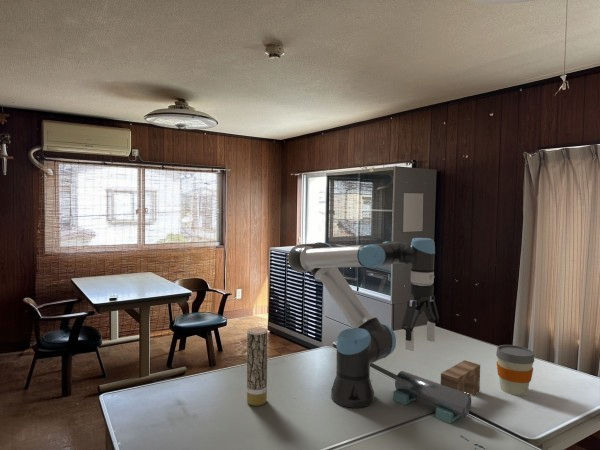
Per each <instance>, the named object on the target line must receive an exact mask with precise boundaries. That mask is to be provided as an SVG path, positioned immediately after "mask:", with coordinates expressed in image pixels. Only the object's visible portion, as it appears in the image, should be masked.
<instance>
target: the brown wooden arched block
mask: <svg viewBox="0 0 600 450" xmlns="http://www.w3.org/2000/svg"><path fill="white" fill-rule="evenodd" d="M480 378H481V364H478V363H476V362H471V361H468V360H462V361H460V362H458V363H457V364H454V365H453V366H451V367H449V368H447V369H446V370H444V371H442V372H441V373H440V384H441V385H444V386H447V387H450V388H453V389H456V390H459V391H462V392H466V393H469V394H472V395H471V396H473V395H474V396H476V395H477V394H478V393H479V391H480V388H481V387H480V386H481V385H480V384H481V379H480ZM477 392H478V393H477ZM476 393H477V394H476Z"/></svg>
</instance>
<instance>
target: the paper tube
mask: <svg viewBox="0 0 600 450" xmlns="http://www.w3.org/2000/svg"><path fill="white" fill-rule="evenodd" d="M246 333H247V334H246V335H247V336H246V338H247V339H246V341H247V345H246V346H247V348H246V357H247V358H246V402H247V403H248V405H250V406H253V407H255V406H256V407H258V406H259V407H260V406H263V405H264V404H266V402H267V398H268V397H267V395H268V329H267V328H265V327H261V326H258V327H257V326H256V327H250V328H248V329H247V332H246Z"/></svg>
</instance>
